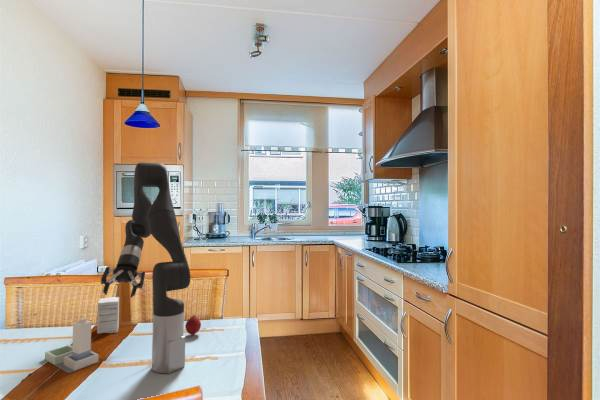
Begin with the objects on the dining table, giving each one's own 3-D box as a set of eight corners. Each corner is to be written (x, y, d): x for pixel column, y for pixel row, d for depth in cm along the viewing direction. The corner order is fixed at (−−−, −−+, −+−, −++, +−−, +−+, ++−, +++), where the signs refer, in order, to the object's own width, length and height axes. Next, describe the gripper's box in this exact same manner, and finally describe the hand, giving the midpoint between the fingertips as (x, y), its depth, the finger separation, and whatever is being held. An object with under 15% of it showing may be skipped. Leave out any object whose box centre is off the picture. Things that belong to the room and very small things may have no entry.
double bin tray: (99, 363, 107) (99, 354, 107) (68, 375, 99) (68, 365, 99) (73, 351, 116) (74, 342, 116) (44, 361, 108) (44, 351, 108)
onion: (195, 338, 128) (196, 317, 128) (182, 337, 129) (182, 316, 130) (203, 333, 134) (203, 313, 134) (190, 331, 135) (190, 312, 135)
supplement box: (98, 329, 137) (99, 298, 137) (119, 326, 140) (119, 296, 140) (96, 335, 130) (97, 303, 130) (117, 332, 133) (118, 301, 134)
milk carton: (90, 362, 107) (91, 318, 107) (78, 366, 103) (79, 321, 104) (83, 359, 108) (84, 316, 108) (71, 364, 105) (73, 319, 105)
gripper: (110, 250, 127) (97, 286, 115) (150, 256, 133) (141, 291, 121) (109, 262, 132) (96, 298, 120) (147, 267, 137) (138, 302, 125)
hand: (118, 294), depth 120 cm, fingers open, 8 cm apart
